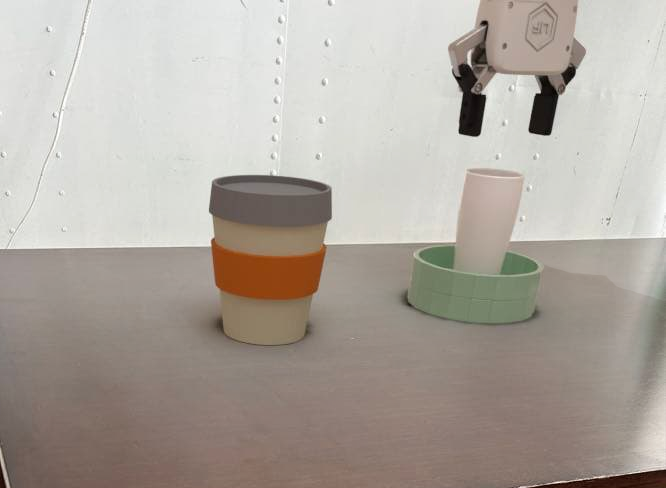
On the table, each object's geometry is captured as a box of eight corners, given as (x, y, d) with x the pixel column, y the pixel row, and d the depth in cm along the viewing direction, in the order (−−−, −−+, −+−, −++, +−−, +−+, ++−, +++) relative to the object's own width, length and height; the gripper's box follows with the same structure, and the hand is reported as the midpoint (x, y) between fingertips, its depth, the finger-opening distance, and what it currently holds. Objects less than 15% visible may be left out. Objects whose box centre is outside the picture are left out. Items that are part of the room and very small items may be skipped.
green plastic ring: (520, 297, 107) (530, 249, 104) (542, 333, 94) (555, 280, 91) (404, 288, 108) (410, 241, 104) (410, 323, 95) (418, 270, 92)
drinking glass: (472, 315, 96) (498, 178, 88) (431, 300, 101) (452, 169, 93) (509, 308, 100) (538, 175, 92) (468, 294, 105) (491, 166, 97)
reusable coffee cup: (246, 358, 82) (253, 199, 74) (186, 322, 91) (186, 177, 83) (344, 340, 88) (360, 192, 80) (278, 309, 97) (287, 172, 89)
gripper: (490, -66, 75) (460, 140, 84) (630, -52, 82) (588, 137, 91) (443, -60, 81) (420, 132, 90) (577, -48, 87) (542, 130, 96)
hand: (504, 134), depth 90 cm, fingers open, 9 cm apart
